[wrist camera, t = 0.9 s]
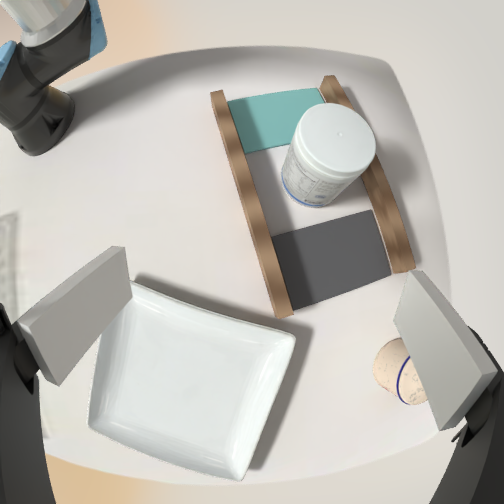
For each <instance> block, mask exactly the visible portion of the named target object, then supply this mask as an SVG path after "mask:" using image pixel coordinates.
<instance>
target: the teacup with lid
mask: <svg viewBox="0 0 504 504" xmlns="http://www.w3.org/2000/svg"><path fill="white" fill-rule="evenodd" d="M373 375H374V378H375V380H376V382H377V383H378V384H379V385H380V386H382V387H383V388H385V389H386V390H388V391H390V392H391V393H393V394H394V395H396V396H397V397H399V398H400V400H401V401H402V402H404V403H406V404H409V405H417V404H421V403H423V402H425V401H427V400H428V399H427V396H426V394H425V391H424V388H423V386H422V383H421V381H420V379H419V376H418V374H417V371H416V369H415V367H414V364H413V362H412V360H411V358H410V355H409V353H408V351H407V349H406V346H405V344H404V342H403V340H402V339H396V340H393V341H390V342H389V343H387V344H386V345H385V346H383V347H382V349H381V350H380V351H379V353H378V354H377V356H376V358H375V361H374V365H373Z"/></svg>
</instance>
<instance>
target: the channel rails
mask: <svg viewBox="0 0 504 504" xmlns="http://www.w3.org/2000/svg"><path fill="white" fill-rule="evenodd" d="M320 91H321V93H322V94H323V96H324V98H325V100H326V102H327V103H335V104H339V105H343V106H345V107H348V108H350V109H352V110H353V111H355V110H354V109H353V107H352V105H351V103H350V101H349V99H348V98H347V96H346V94H345V92H344V91H343V89H342V87H341V86H340V84H339V82H338V81H337V79H336V77H335V76H334V75H331V76H324V79H323V81H322V84H321V86H320ZM210 94H211V102H212V108H213V111H214V114H215V117H216V121H217V124H218V127H219V131H220V134H221V137H222V141H223V144H224V147H225V150H226V154H227V157H228V160H229V164H230V167H231V170H232V174H233V177H234V180H235V183H236V187H237V190H238V193H239V197H240V200H241V203H242V207H243V210H244V213H245V217H246V220H247V223H248V227H249V230H250V233H251V237H252V240H253V243H254V247H255V250H256V253H257V257H258V260H259V264H260V267H261V270H262V274H263V277H264V280H265V284H266V287H267V290H268V294H269V297H270V301H271V304H272V307H273V311H274V314H275V316H276V317H277V318H278V319H281V318H285V317H288V316H291V315H294V314H293V310H292V307H291V303H290V300H289V297H288V293H287V290H286V286H285V283H284V280H283V276H282V273H281V270H280V266H279V263H278V260H277V256H276V253H275V250H274V247H273V243H272V240H271V237H270V234H269V230H268V227H267V224H266V221H265V217H264V214H263V211H262V208H261V205H260V202H259V198H258V195H257V192H256V189H255V186H254V183H253V180H252V177H251V174H250V170H249V167H248V164H247V161H246V158H245V155H244V152H243V149H242V146H241V143H240V140H239V137H238V134H237V131H236V128H235V125H234V122H233V119H232V116H231V113H230V110H229V107H228V105H227V102H226V99H225V96H224V93H223V90H219V91H214V92H210ZM361 177H362V180H363V182H364V185H365V187H366V190H367V193H368V195H369V198H370V201H371V203H372V206H373V209H374V212H375V215H376V217H377V220H378V223H379V226H380V229H381V232H382V236H383V239H384V242H385V245H386V248H387V252H388V255H389V259H390V262H391V266H392V269H393V273H403V272H408V271H409V270H413V269H415V268H416V266H415V262H414V258H413V255H412V251H411V248H410V244H409V241H408V238H407V234H406V231H405V228H404V225H403V222H402V219H401V216H400V213H399V210H398V207H397V205H396V202H395V199H394V197H393V194H392V191H391V189H390V186H389V184H388V181H387V179H386V176H385V174H384V171H383V169H382V167H381V164H380V162H379V160H378V157H377V155H376V153H375V156H374V158H373V160H372V162H371V163H370V164H369V166H368V167H367V169H366V170H365V171H364V172H363V173H362V174H361Z"/></svg>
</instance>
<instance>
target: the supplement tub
mask: <svg viewBox="0 0 504 504" xmlns="http://www.w3.org/2000/svg"><path fill="white" fill-rule="evenodd" d="M375 152H376V141H375V137H374V134H373V132H372V130H371V128H370V126H369V125H368V123H367V122H366V121H365V120H364V119H363V118H362V117H361V116H360V115H359V114H358V113H356V112H355V111H353V110H352V109H350V108H348V107H345V106H343V105H339V104H335V103H322V104H318V105H315V106H313V107H311V108H309V109H308V110H307V111H306V112H305V113H304V114H303V116H302V118H301V119H300V121H299V123H298V125H297V127H296V130H295V133H294V135H293V138H292V141H291V144H290V147H289V150H288V153H287V156H286V159H285V162H284V164H283V167H282V171H281V181H282V185H283V188H284V190H285V192H286V193H287V195H288V196H289V197H290V198H291V199H292V200H293V201H295V202H296V203H298V204H300V205H302V206H305V207H310V208H317V207H322V206H325V205H327V204H329V203H330V202H331V201H333V200H334V199H335V198H336V197H337V196H338V195H339V194H340V193H341V192H342V191H343V190H345V189H346V188H347V187H348V186H349V185H350V184H351V183H352V182H353V181H354V180H355V179H356V178H357V177H359V176H360V175H361V174H362V173H363V172H364V171H365V170H366V169H367V167H368V166H369V164H370V163H371V162H372V160H373V158H374V156H375Z"/></svg>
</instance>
